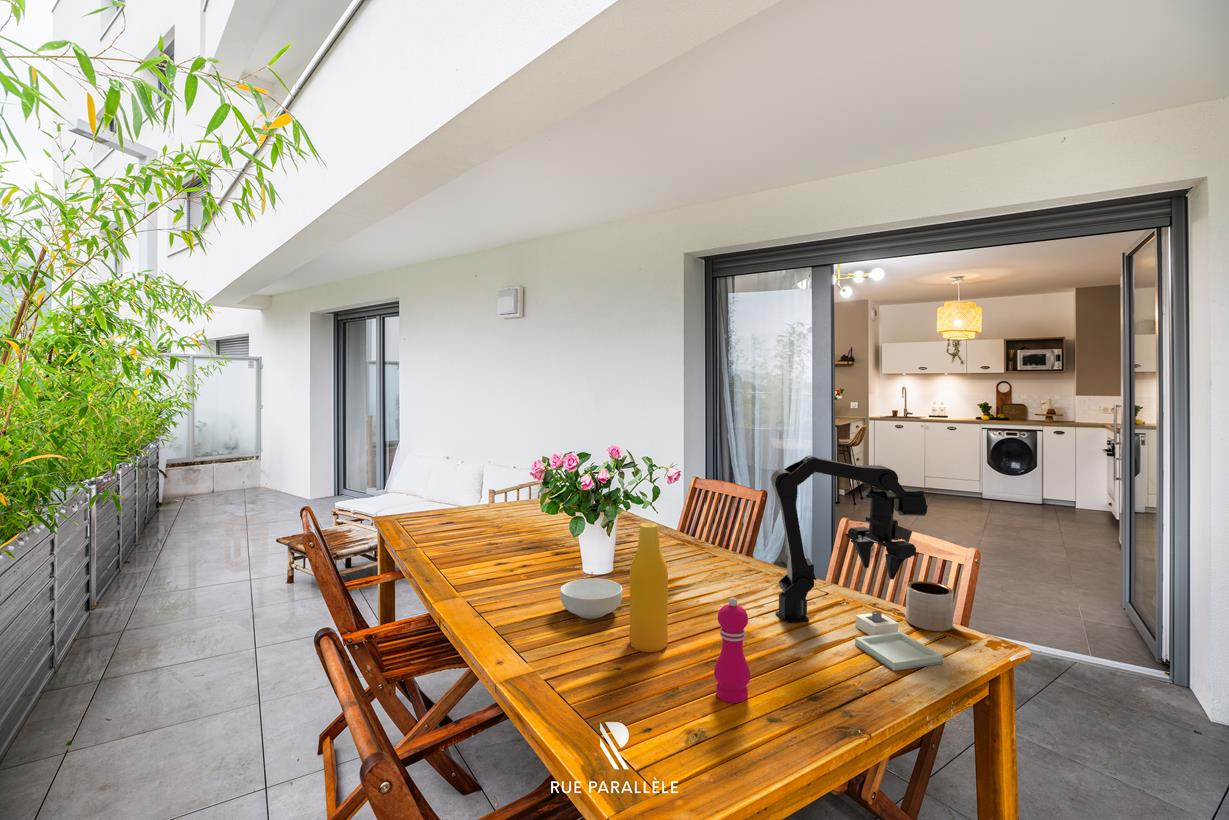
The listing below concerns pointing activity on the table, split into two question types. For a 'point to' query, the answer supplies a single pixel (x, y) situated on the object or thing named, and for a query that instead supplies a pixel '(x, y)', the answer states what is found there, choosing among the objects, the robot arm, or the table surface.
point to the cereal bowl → (591, 597)
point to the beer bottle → (648, 593)
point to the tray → (898, 651)
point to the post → (876, 617)
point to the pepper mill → (732, 654)
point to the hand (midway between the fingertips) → (878, 573)
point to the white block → (876, 625)
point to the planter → (929, 606)
